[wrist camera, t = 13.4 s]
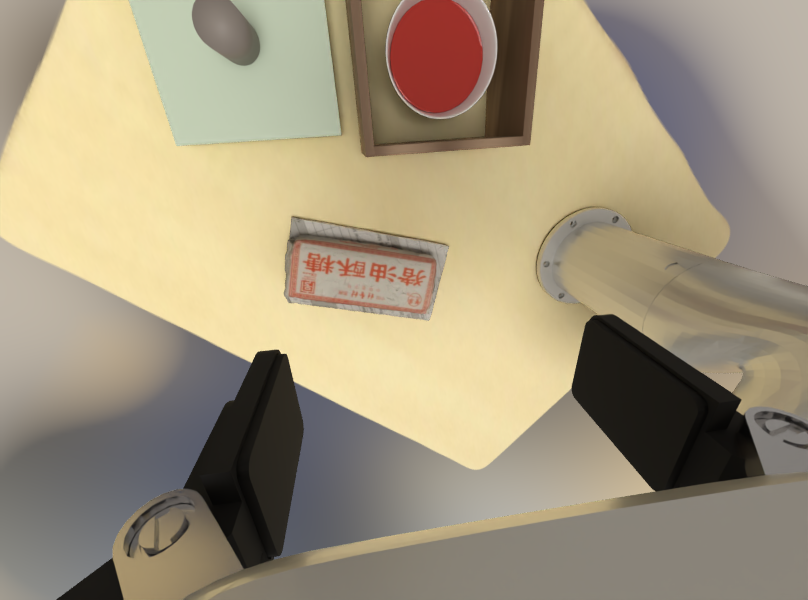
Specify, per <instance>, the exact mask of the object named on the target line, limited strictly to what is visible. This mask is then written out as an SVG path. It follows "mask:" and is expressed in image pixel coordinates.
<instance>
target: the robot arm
mask: <svg viewBox="0 0 808 600" xmlns="http://www.w3.org/2000/svg"><path fill="white" fill-rule="evenodd" d="M537 276H538V280H539V283H540V285H541V287H542V288H543V289H544V290H545V292H546V293H547V294H549V295H550V296H551V297H552V298H554V299H556V300H557V301H560V302H564V303H573V304H575V303H582V304H584V305H585V306H587V307H588V308H589V309H591V310H592V311H594V312H595V313H597V314H598V315H596V316H593V317H591V319H590V321H588V322H587V323H586V325H585V329H584V333H583V338H582V342H581V347H580V351H579V356H578V360H577V365H576V369H575V374H574V379H573V383H572V393H573V396H574V398H575V399H576V400H577V401H578V403H579V404H580V405H581V406H582V407H583V409H584V410H585V411H586V412H587V413H588V414H589V416H590V417H591V418H592V419H593V420H594V421H595V422H596V424H597V425H598V426H599V427H600V428H601V430H602V431H603V432H604V433H605V434H606V435H607V437H608V438H609V439H610V440H611V441H612V442H613V443H614V445H615V446H616V447H617V448H618V450H619V451H620V452H621V453H622V454H623V455H624V457H625V458H626V459H627V460H628V461H629V462H630V464H631V465H632V466H633V467H634V468H635V469H636V471H637V472H638V473H639V474H640V475H641V476H642V478H643V479H644V480H645V481H646V482H647V483H648V485H649V486H650V487H651V488H652V489H653V490H655V491H656V492H650V493H644V494H638V495H631V496H625V497H619V498H613V499H606V500H601V501H595V502H589V503H582V504H576V505H570V506H564V507H558V508H552V509H546V510H540V511H534V512H528V513H522V514H516V515H510V516H504V517H498V518H492V519H486V520H480V521H474V522H468V523H463V524H457V525H451V526H445V527H440V528H434V529H428V530H422V531H416V532H410V533H404V534H399V535H393V536H387V537H382V538H376V539H371V540H366V541H360V542H355V543H350V544H345V545H339V546H335V547H330V548H324V549H319V550H314V551H309V552H304V553H300V554H296V555H292V556H288V557H283V558H280V559H276V560H274V557H276V556H280V555H281V553H282V550H283V545H284V539H285V533H286V528H287V522H288V516H289V511H290V506H291V500H292V494H293V489H294V483H295V478H296V472H297V466H298V461H299V455H300V450H301V444H302V438H303V430H304V428H303V420H302V416H301V411H300V407H299V403H298V399H297V394H296V390H295V386H294V381H293V377H292V373H291V369H290V364H289V360H288V357H287V354H281V353H280V351H279V350H269V351H260V352H257V354H256V355H255V358H254V360H253V362H252V364H251V366H250V368H249V370H248V373H247V375H246V377H245V379H244V381H243V383H242V386H241V388H240V390H239V392H238V394H237V396H236V398H235V400H234V401H229V402H227V403H226V404H225V406H224V408H223V410H222V412H221V414H220V416H219V418H218V420H217V422H216V424H215V426H214V428H213V430H212V432H211V434H210V436H209V438H208V440H207V442H206V444H205V446H204V448H203V450H202V452H201V454H200V456H199V458H198V460H197V462H196V464H195V466H194V468H193V470H192V472H191V474H190V476H189V478H188V480H187V482H186V484H185V486H184V488H183V489H177V490H174V491H170V492H167V493H164V494H162V495H160V496H158V497H156V498H154V499H152V500H150V501H149V502H148V503H147V504H145V505H144V506H142V507H141V508H140V509H138V510H137V511H136V512H135V513H134V515H132V516H131V517H130V519H128V521H127V522H126V523H125V524H124V526H123V527H122V529H121V530H120V532H119V533H118V535H117V537H116V540H115V543H114V545H113V558H112V559H110V560H109V561H108V562H106V563H105V564H104V565H102V566H101V567H100V568H98V569H97V570H96V571H94V572H93V573H92V574H90V575H89V576H88V577H86V578H85V579H83V580H82V581H81V582H79V583H78V584H77V585H76V586H74V587H73V588H71V589H70V590H69V591H67V592H66V593H65V594H63V595H62V596H61V597H59V598H58V599H57V600H808V286H805V285H802V284H798V283H795V282H791V281H787V280H784V279H781V278H777V277H774V276H770V275H767V274H763V273H760V272H757V271H753V270H750V269H747V268H744V267H741V266H738V265H734V264H731V263H728V262H724V261H721V260H718V259H715V258H712V257H709V256H706V255H703V254H700V253H697V252H694V251H691V250H688V249H684V248H681V247H678V246H675V245H672V244H669V243H666V242H663V241H660V240H657V239H654V238H651V237H647V236H644V235H641V234H638V233H635V232H632V230H631V227H630V225H629V223H628V222H627V220H626V219H625V218H624V217H623V216H622V215H621V214H619V213H617V212H615V211H613V210H609V209H606V208H599V207H594V208H586V209H583V210H579V211H577V212H575V213H573V214H571V215H569V216H567V217H566V218H565V219H563V220H562V221H561V222H559V223H558V224H557V225H556V226H555V227H554V228H553V229H552V231H551V232H550V233H549V235H548V236H547V237H546V239H545V241H544V243H543V244H542V246H541V249H540V252H539V255H538V260H537ZM701 372H703V373H743V376H742V379H741V381H740V382H739V384H738V385H737V387H736V388H735V390H734V391H733V392H732V393H731V392H730V391H728V390H727V389H725V388H724V387H722V386H721V385H719V384H718V383H716V382H714V381H713V380H712V379H710V378H708V377H707V376H706V375H704V374H703V373H701Z"/></svg>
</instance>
